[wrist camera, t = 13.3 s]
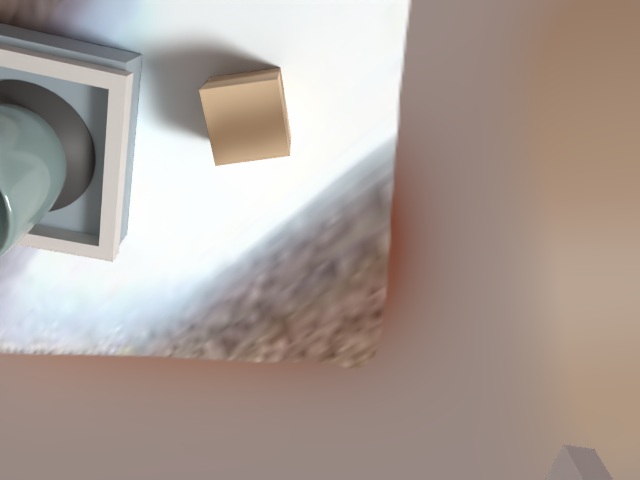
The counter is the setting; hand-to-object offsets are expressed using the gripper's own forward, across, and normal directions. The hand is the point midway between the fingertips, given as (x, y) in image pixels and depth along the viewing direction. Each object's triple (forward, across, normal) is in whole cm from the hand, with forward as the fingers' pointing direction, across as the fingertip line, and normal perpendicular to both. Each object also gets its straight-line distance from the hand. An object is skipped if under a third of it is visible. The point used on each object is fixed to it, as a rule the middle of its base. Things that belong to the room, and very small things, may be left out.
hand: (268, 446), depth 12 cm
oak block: (+32, -3, 0) cm, 32 cm away
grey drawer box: (+32, -17, -5) cm, 36 cm away
